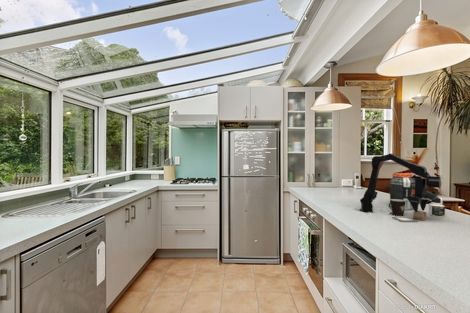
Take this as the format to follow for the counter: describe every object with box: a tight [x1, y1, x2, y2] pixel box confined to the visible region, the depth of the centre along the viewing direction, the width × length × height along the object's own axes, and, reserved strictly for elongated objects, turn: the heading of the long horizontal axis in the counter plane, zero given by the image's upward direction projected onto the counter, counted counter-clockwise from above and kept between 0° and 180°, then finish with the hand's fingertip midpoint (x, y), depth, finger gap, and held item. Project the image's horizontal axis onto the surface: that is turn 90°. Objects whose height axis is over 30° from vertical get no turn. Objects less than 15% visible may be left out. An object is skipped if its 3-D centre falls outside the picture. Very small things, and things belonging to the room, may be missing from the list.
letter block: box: [412, 210, 427, 222], centre depth 165 cm, size 5×5×5 cm
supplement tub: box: [389, 172, 415, 211], centre depth 200 cm, size 16×16×26 cm
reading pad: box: [391, 216, 419, 223], centre depth 165 cm, size 10×10×1 cm
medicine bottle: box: [428, 196, 446, 218], centre depth 177 cm, size 7×7×12 cm
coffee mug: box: [388, 199, 406, 217], centre depth 178 cm, size 12×9×10 cm
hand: (419, 211), depth 165 cm, fingers open, 9 cm apart
